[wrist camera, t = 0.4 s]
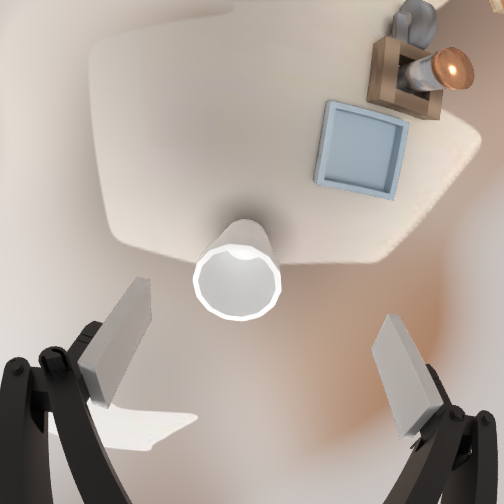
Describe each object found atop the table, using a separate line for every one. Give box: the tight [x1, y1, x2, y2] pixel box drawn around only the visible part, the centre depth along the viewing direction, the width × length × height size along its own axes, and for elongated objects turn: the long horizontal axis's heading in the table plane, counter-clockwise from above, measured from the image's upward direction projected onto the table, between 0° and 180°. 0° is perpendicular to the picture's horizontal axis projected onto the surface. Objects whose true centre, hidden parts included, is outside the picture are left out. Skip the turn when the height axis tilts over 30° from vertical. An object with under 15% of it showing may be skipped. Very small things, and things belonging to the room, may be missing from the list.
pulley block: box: [367, 0, 443, 120], centre depth 27 cm, size 17×9×8 cm, turn 172°
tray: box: [313, 101, 409, 201], centre depth 36 cm, size 11×11×3 cm
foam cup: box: [193, 219, 281, 321], centre depth 37 cm, size 10×9×13 cm
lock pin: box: [396, 47, 474, 94], centre depth 26 cm, size 4×4×15 cm
